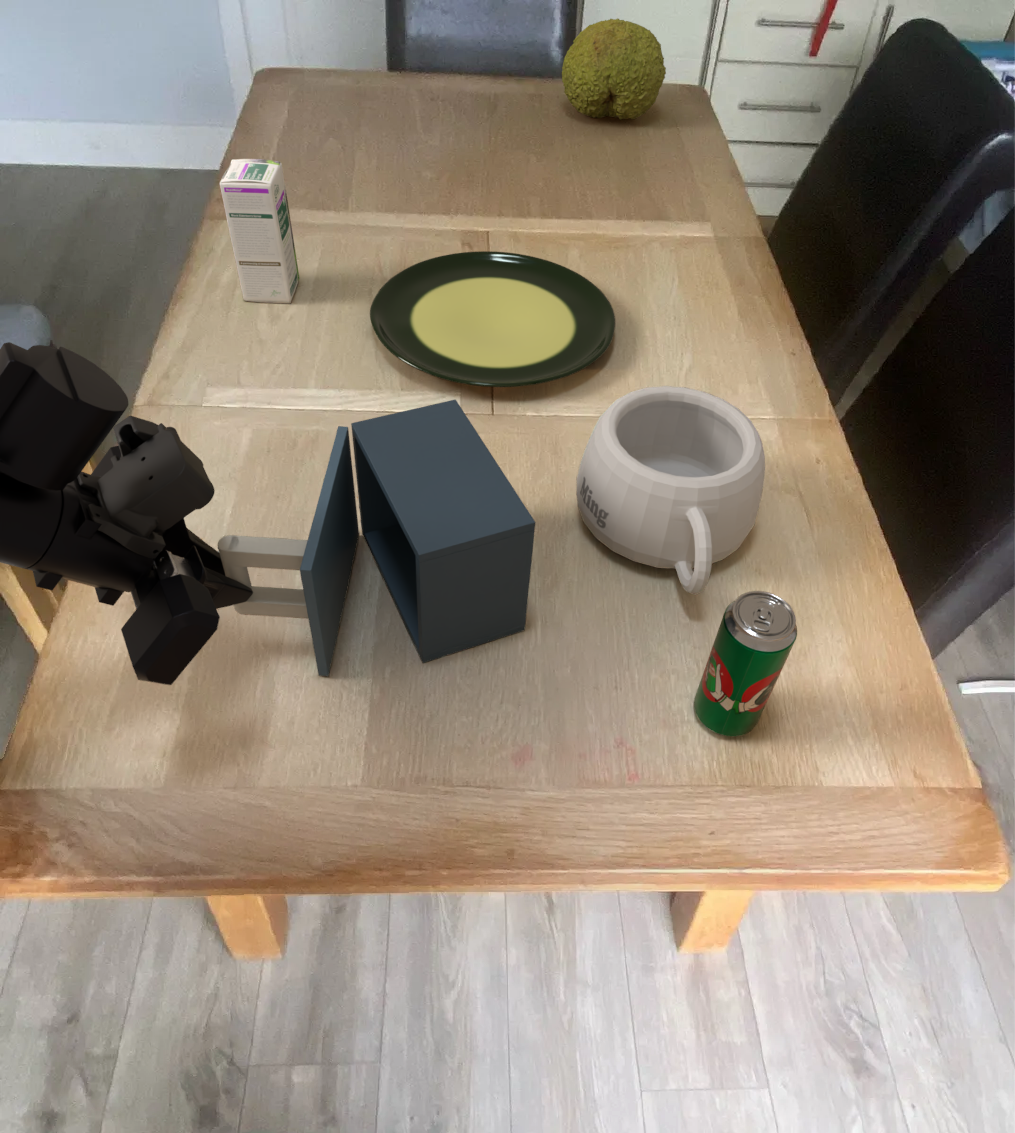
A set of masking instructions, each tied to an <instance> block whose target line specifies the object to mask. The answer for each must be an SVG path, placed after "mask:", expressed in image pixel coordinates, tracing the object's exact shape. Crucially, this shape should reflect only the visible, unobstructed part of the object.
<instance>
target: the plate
mask: <svg viewBox="0 0 1015 1133" xmlns="http://www.w3.org/2000/svg"><path fill="white" fill-rule="evenodd" d="M369 308H370V309H369V319H370V323H371V327H372V329H373V332H374V333H375V336H376V337H377V339H378V340H379V342H380V343H381V344H382V345H383V346H384V347H385V349H387V350H388V351H389V352H390V353H391V354H392V355H393V356H394V357H396V358H397V359H398V360H400V361H401V362H403V363H405V364H406V365H408V366H410V367H412V368H413V369H416V370H418V371H420V372H423V373H425V374H427V375H430V376H433V377H435V378H438V379H441V380H445V381H449V382H453V383H458V384H461V385H462V384H463V385H469V386H477V387H487V388H488V387H489V388H515V387H516V388H517V387H525V386H526V387H527V386H534V385H540V384H544V383H549V382H552V381H557V380H560V379H564V378H566V377H569V376H572V375H574V374H576V373H579V372H580V371H582V370H584V369H586V368H587V367H590V366H591V365H592V364H593V363H595V362H596V361H597V360H598V359H600V358H601V357H602V356H603V354H605V353H606V351H607V350H608V348H609V347H610V346H611V344H612V341H613V339H614V335H615V331H616V314H615V310H614V308H613V305H612V304H611V302H610V300H609V299H608V297H607V296H606V295H605V294H604V292H602V290H601V289H600V288H599V287H598V286H597V285H595V284H594V283H593V282H592V281H590V280H589V279H588V278H587V277H585V276H584V275H581V274H580V273H578V272H576V271H574V270H572V269H570V268H569V267H566V266H563V265H561V264H559V263H556V262H553V261H550V260H547V259H544V258H541V257H536V256H531V255H527V254H521V253H514V252H505V251H491V250H490V251H487V250H486V251H485V250H484V251H483V250H482V251H478V250H477V251H466V252H456V253H455V252H454V253H449V254H445V255H439V256H436V257H432V258H428V259H426V260H422V261H419V262H417V263H415V264H412V265H410V266H408V267H406V268H405V269H402V270H401V271H399V272H398V273H396V274H395V275H393V276H392V277H391V278H390V279H387V281H386V282H385V283H384V284H383V285H382V286H381V287H380V289H379V290H378V291H377V293H376V295H374V298H373V300H372V302H371V305H370V307H369Z"/></svg>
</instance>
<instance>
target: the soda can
mask: <svg viewBox="0 0 1015 1133" xmlns="http://www.w3.org/2000/svg"><path fill="white" fill-rule="evenodd" d="M796 617H797V616H796V614H795V611H794V610H793V607H792V606H791V605H790V604H789V603H788V602H787V601H786V600H784V599H783V598H782V597H780V596H779V595H776V594H774V593H772V592H768V591H764V590H749V591H747V592H744V593H741V594H740V595H739V596H738V597H737V598H736V599H734V600H733V601H732V602H730V603H729V605H727V607H726V608H725V610H724V612H723V615H722V618H721V621H720V624H719V627H718V629H717V632H716V634H715V635H716V636H715V638H714V641H713V643H712V646H711V650H710V652H709V655H708V658H707V661H706V664H705V666H704V669H703V672H702V676H701V678H700V681H699V684H698V687H697V689H696V693H695V695H694V698H693V709H694V713H695V714H696V717H697V718H698V720H699V721H700V722H701V723H702V724H703V725H704V726H705V728H707V729H708V730H709V731H711V732H713V733H716V734H719V735H720V736H725V737H741V736H745V735H747V734H749V733H750V732H751V731H753V730H754V729H755V728H756V726H758V723H759V721H760V719H761V716H762V715H763V712H764V710H765V708H766V706H767V703H768V702H769V700H770V697H771V694H772V692H773V691H774V688H775V686H776V684H777V681H778V680H779V677H780V675H781V673H782V671H783V669H784V667H785V665H786V662H787V659H788V657H789V655H790V653H791V651H792V649H793V647H794V645H795V642H796V640H797V637H798V627H797V618H796Z"/></svg>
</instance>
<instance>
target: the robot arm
mask: <svg viewBox="0 0 1015 1133" xmlns="http://www.w3.org/2000/svg"><path fill="white" fill-rule="evenodd" d="M128 407H129V398H128V396H127V394H126V392H125V391H124V389H123V388H122V386H121V385H119V384H118V382H116V380H115V379H114V378H113V377H111V375H109V374H108V373H107V372H106V371H105V370H104V369H102V368H101V367H99V365H97V364H95V363H93V362H92V361H91V360H89V359H88V358H86V357H84V356H82V355H80V354H79V353H77V352H75V351H73V350H70V349H68V348H66V347H63V346H59V347H58V348H56V347H53V346H49V345H43V344H36V345H32V346H31V347H29V348H28V349H27V348H25V347H22V346H20V345H18V344H15V343H12V342H10V341H9V342H5V343H3V344H2V346H1V347H0V563H1V564H4V565H9V566H13V567H17V568H19V569H23V570H28V571H32V574H33V579H34V582H35V586H36V588H39V589H44V590H48V591H53V590H55V588H56V586H57V585H58V584H59V582H60V581H61V580H66V581H70V582H74V583H76V584H77V583H78V584H82V585H85V586H89V587H93V588H94V590H95V593H96V596H97V600H98V603H101V604H103V605H109V606H115V605H116V603H117V602H118V600H119V599H120V598H121V597H122V595H123V594H124V593H130V596H131V597H132V600H133V604H134V606H135V610H134V612H133V613H132V615H130V617H129V618H128V619H127V621H125V623H124V624H123V626H122V627H121V628H120V630H121V631H120V632H121V634H122V636H123V641H124V643H125V647H126V650H127V653H128V656H129V660H130V662H131V666H132V669H133V671H134V673H135V676H136V678H137V681H143V682H149V683H153V684H159V685H163V686H173V684H174V682H175V681H176V680H177V679H178V678H179V676H180V675H181V674H182V673H183V672H184V670H185V669H186V668H187V667H188V666H189V664H190V663H191V662H192V661H193V659H194V658H195V657H196V656H197V655H198V653H199V652H200V651H201V650H202V649H203V648H204V646H205V645H206V644H207V642H208V641H209V640H210V639H211V638H212V636H213V635H214V634H215V633H216V631H218V626H219V624H220V623H219V622H220V618H221V617H220V614H219V612H218V610H219V609H222V608H226V607H232V606H234V605H235V604H239V603H244V602H246V601H247V600H248V599H249V598H250V597H251V595H252V594H253V591H252V589H251V588H249V587H248V586H246V585H244V584H242V583H240V582H238V581H236V580H234V579H231V578H229V577H227V576H226V575H225V572H224V568H223V564H222V561H221V557H220V553H219V550H217V549H215V548H214V547H212V545H210V544H208V543H207V542H206V541H204V540H203V539H202V538H200V537H199V536H198V535H196V533H195V532H193V531H192V530H190V528H188V527H187V525H186V521H185V518H186V517H187V516H188V515H190V514H192V513H193V512H194V511H196V510H201V509H203V508H204V507H206V506H207V505H208V504H209V503H211V501H212V499H213V498H214V496H215V487H214V484H213V482H211V480H210V478H209V476H208V474H207V471H206V469H205V467H204V463H203V461H202V460H201V458H200V457H199V456H198V455H197V454H195V452H193V451H192V449H190V448H189V447H188V446H187V445H186V444H185V443H184V442H183V441H182V440H181V438H180V435H179V433H178V430H177V429H176V428H175V427H173V426H165V425H164V423H162V422H160V423H159V424H157V423H156V422H153V421H150V420H147V419H143V418H141V417H136V416H133V415H128V416H127V417H125V418H124V419H122V420H120V418H122V415H123V414H124V413H125V412H126V410H127V409H128ZM119 420H120V421H119ZM118 421H119V422H118ZM112 429H113V432H114V436H115V439H116V442H117V445H114V446H111V447H109V448H108V450H107V451H106V453H105V454H104V456H103V457H102V458H101V460H100V461H99V463H98V464H97V465H96V467H95V468H94V470H92V472H91V473H87V472H85V471H83V470H84V468H85V467H86V465H87V464H88V463H89V462H90V460H91V459H92V458H93V456H94V455H95V453H96V452H97V451H98V450H99V448H100V446H101V445H102V444H103V442H104V441H105V440H106V438H107V436H108V435H109V434H110V432H111V431H112Z"/></svg>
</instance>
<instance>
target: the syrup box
mask: <svg viewBox="0 0 1015 1133" xmlns="http://www.w3.org/2000/svg"><path fill="white" fill-rule="evenodd" d="M284 174H285V173H284V167H283V164H282V162H281V161H278V160H271V159H263V158H262V159H261V158H238V159H233V158H232V159H231V161H230V163H229V166H228V167H227V168H226V170H225V172H224V173H223V175H222V177H221V180H220V181H219V184H218V185H219V187H220V191H221V197H222V203H223V207H224V212H225V216H226V217H225V218H226V221H227V228H228V232H229V237H230V241H231V248H232V251H233V256H234V261H235V265H236V270H237V276H238V281H239V284H240V290H241V294H242V299H243V301H245V302H252V303H266V304H291V303H292V300H293V298H294V295H295V292H296V290H297V286H298V284H299V280H300V273H299V266H298V260H297V253H296V247H295V241H294V233H293V226H292V220H291V213H290V208H289V202H288V194H287V187H286V182H285V181H286V180H285V175H284Z"/></svg>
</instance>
